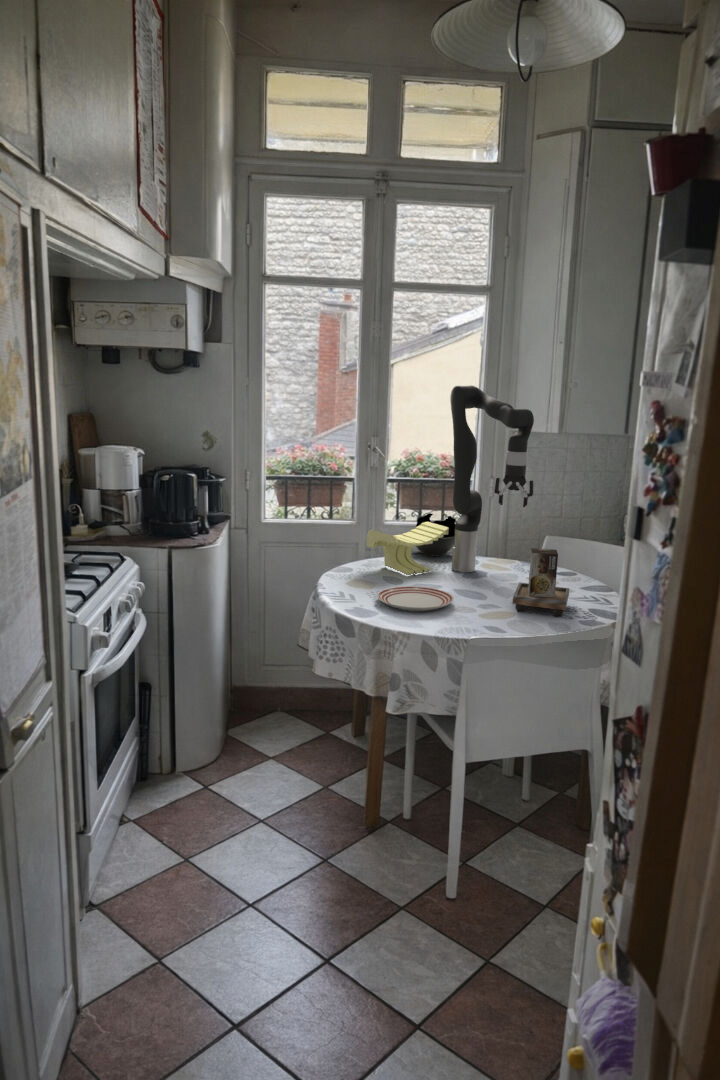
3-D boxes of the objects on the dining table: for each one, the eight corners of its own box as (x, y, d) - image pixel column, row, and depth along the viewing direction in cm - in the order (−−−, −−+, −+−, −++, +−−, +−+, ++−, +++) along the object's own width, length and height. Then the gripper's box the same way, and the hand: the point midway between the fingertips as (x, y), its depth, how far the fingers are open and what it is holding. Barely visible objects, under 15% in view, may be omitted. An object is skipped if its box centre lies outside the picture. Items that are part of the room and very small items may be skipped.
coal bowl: (401, 553, 355) (403, 511, 350) (434, 547, 367) (436, 507, 362) (431, 563, 339) (434, 520, 335) (465, 557, 351) (468, 515, 347)
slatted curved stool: (420, 560, 344) (422, 520, 339) (446, 569, 331) (448, 527, 327) (365, 570, 326) (367, 527, 322) (390, 579, 313) (392, 535, 309)
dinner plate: (364, 596, 292) (364, 587, 292) (430, 590, 303) (431, 581, 302) (396, 620, 268) (397, 610, 267) (467, 612, 279) (468, 603, 278)
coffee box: (553, 592, 287) (557, 549, 283) (554, 598, 281) (559, 553, 277) (527, 590, 288) (531, 547, 284) (528, 596, 282) (532, 551, 278)
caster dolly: (511, 612, 279) (513, 596, 278) (518, 597, 296) (519, 582, 295) (564, 619, 274) (566, 602, 273) (567, 604, 291) (569, 588, 290)
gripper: (536, 463, 299) (532, 505, 303) (498, 460, 303) (495, 502, 307) (534, 466, 292) (530, 509, 296) (495, 463, 296) (492, 506, 300)
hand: (512, 505), depth 301 cm, fingers open, 8 cm apart
